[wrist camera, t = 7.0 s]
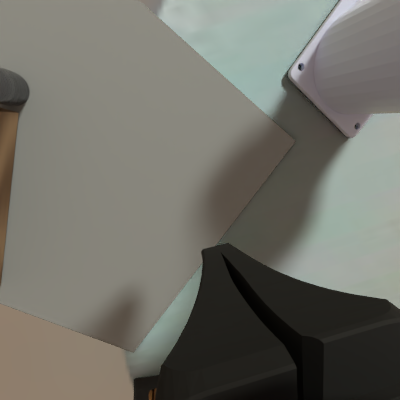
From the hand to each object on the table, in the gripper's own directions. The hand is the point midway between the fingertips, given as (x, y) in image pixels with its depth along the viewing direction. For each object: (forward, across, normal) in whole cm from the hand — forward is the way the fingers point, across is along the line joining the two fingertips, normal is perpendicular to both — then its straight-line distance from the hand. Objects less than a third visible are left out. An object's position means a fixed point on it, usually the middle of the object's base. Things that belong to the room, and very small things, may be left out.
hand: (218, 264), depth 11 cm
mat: (+9, +7, -3) cm, 12 cm away
